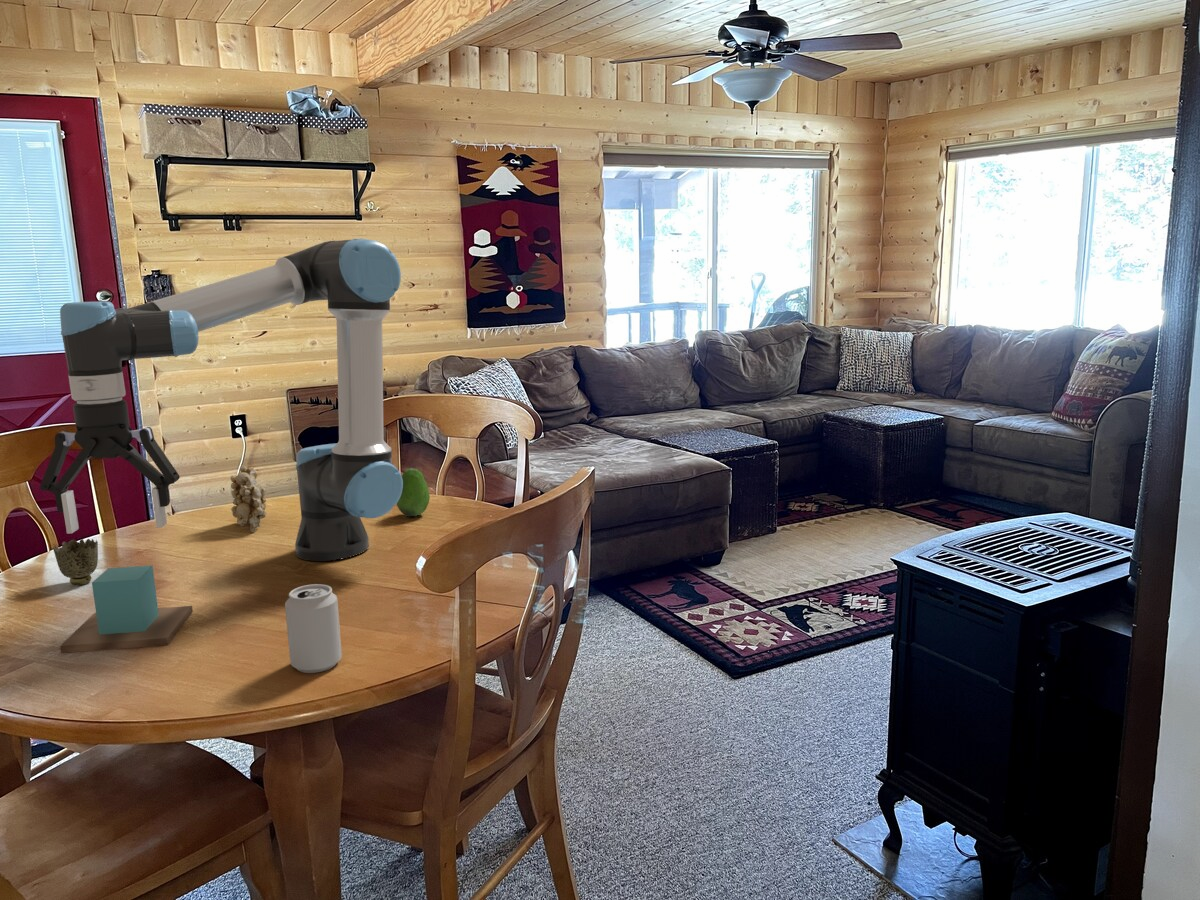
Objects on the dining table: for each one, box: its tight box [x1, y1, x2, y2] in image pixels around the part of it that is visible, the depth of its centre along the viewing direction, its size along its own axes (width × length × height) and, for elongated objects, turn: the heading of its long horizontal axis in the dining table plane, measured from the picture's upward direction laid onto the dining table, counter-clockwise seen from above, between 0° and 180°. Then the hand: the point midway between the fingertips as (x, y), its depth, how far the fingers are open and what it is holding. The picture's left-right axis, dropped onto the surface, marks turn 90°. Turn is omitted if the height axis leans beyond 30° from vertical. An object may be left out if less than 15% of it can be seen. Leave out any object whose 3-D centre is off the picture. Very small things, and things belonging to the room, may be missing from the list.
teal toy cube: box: [91, 565, 159, 635], centre depth 146 cm, size 7×7×9 cm
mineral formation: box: [230, 465, 267, 533], centre depth 205 cm, size 8×13×15 cm, turn 31°
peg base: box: [59, 605, 194, 654], centre depth 146 cm, size 16×14×7 cm
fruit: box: [396, 467, 431, 517], centre depth 213 cm, size 8×8×12 cm
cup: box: [52, 538, 99, 586], centre depth 170 cm, size 8×7×8 cm
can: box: [284, 583, 342, 674], centre depth 133 cm, size 8×8×12 cm
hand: (117, 528), depth 143 cm, fingers open, 13 cm apart
